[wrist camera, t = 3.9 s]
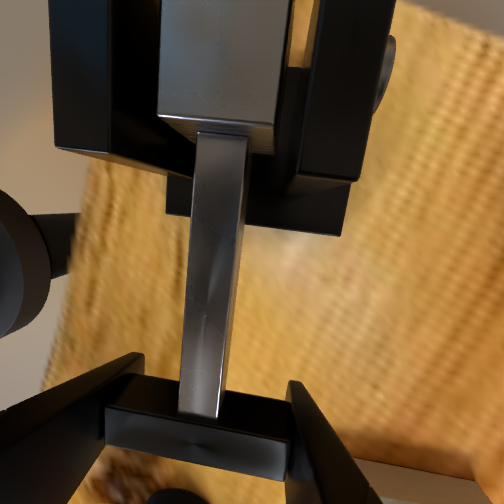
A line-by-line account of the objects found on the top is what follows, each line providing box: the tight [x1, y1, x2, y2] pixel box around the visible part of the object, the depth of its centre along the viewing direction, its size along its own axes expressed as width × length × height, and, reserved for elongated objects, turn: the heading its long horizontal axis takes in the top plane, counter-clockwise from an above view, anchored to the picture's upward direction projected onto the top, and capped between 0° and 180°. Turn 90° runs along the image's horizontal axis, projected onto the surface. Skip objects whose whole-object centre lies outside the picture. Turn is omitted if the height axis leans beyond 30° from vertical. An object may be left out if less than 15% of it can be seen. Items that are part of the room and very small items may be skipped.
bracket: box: [48, 0, 396, 237], centre depth 9 cm, size 8×10×11 cm
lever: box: [104, 0, 295, 482], centre depth 6 cm, size 11×5×2 cm, turn 173°
